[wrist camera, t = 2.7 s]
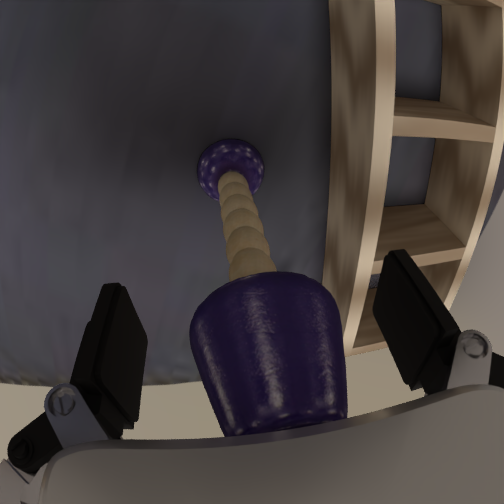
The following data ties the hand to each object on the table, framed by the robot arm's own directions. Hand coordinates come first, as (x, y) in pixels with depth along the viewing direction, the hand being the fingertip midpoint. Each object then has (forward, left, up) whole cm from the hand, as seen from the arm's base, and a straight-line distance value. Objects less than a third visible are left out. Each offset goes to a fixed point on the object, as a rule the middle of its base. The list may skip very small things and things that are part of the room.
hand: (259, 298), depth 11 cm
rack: (0, +11, -11) cm, 16 cm away
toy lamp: (0, 0, -11) cm, 11 cm away
